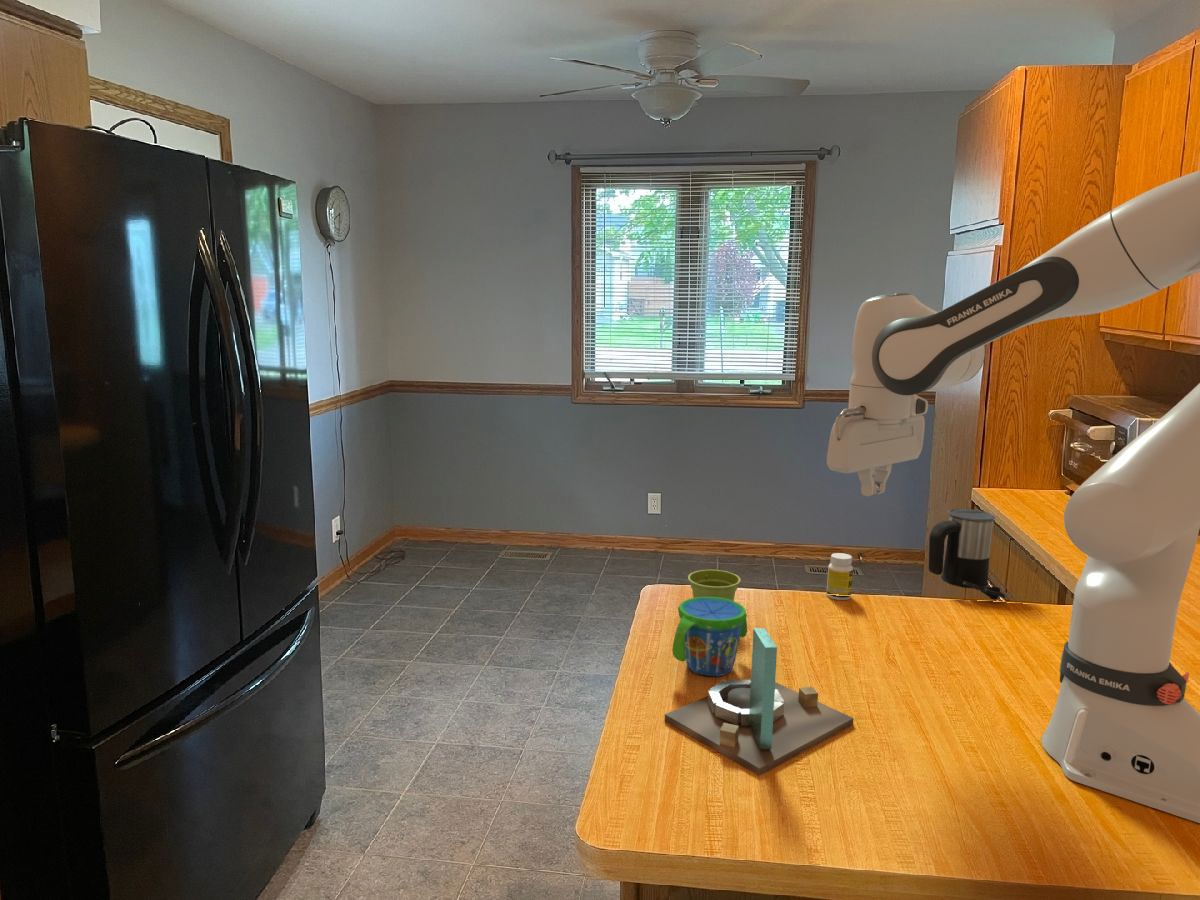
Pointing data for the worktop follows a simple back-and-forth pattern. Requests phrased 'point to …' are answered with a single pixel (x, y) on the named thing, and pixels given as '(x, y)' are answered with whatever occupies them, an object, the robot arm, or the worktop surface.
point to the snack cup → (709, 634)
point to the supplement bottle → (840, 576)
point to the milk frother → (964, 550)
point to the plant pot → (714, 584)
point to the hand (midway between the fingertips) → (872, 494)
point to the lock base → (790, 732)
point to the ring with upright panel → (753, 693)
